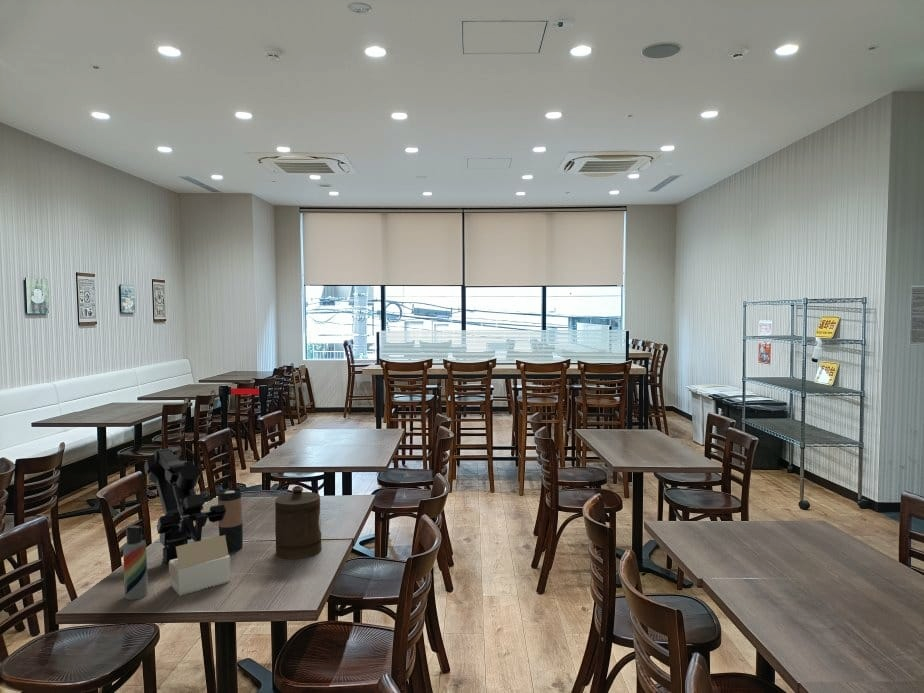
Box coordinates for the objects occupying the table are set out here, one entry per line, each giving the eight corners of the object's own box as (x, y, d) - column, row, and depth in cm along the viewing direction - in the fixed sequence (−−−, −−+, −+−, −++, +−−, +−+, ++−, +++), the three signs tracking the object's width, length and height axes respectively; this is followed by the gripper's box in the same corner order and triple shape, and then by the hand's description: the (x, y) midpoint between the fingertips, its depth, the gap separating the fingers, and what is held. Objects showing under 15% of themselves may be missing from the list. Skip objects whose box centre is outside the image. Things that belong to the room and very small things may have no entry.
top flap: (175, 546, 172) (176, 546, 172) (224, 535, 181) (225, 534, 180) (179, 568, 170) (179, 567, 170) (228, 555, 179) (228, 555, 179)
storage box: (168, 585, 177) (167, 560, 177) (220, 571, 187) (219, 547, 187) (177, 596, 170) (176, 570, 170) (231, 581, 180) (230, 556, 179)
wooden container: (331, 548, 205) (329, 483, 204) (296, 563, 193) (294, 494, 192) (300, 540, 213) (299, 478, 212) (266, 554, 201) (264, 488, 200)
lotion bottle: (121, 597, 170) (118, 527, 170) (141, 589, 175) (138, 521, 174) (131, 602, 167) (128, 530, 167) (151, 594, 172) (149, 524, 171)
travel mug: (235, 553, 202) (233, 494, 201) (214, 552, 203) (212, 493, 203) (247, 545, 209) (245, 488, 209) (227, 544, 211) (225, 487, 210)
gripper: (157, 489, 175) (169, 536, 167) (223, 477, 187) (237, 521, 179) (151, 510, 182) (163, 556, 173) (215, 498, 194) (229, 540, 186)
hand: (199, 543), depth 178 cm, fingers closed
